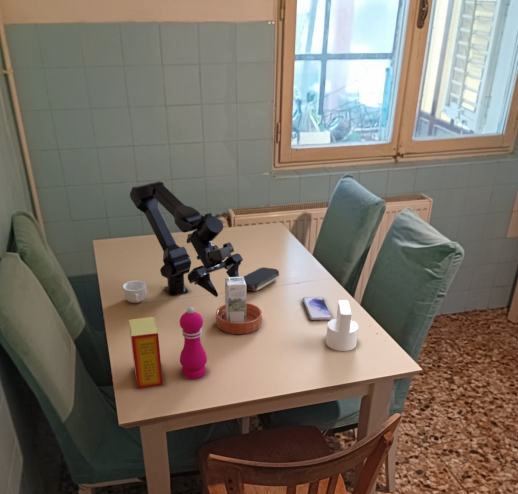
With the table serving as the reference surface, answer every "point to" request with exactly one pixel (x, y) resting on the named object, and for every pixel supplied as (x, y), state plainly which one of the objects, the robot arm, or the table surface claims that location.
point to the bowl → (240, 328)
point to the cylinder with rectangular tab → (342, 329)
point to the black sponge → (260, 278)
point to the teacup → (135, 291)
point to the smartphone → (317, 308)
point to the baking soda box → (146, 351)
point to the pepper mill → (192, 345)
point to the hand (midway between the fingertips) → (228, 291)
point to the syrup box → (235, 299)
